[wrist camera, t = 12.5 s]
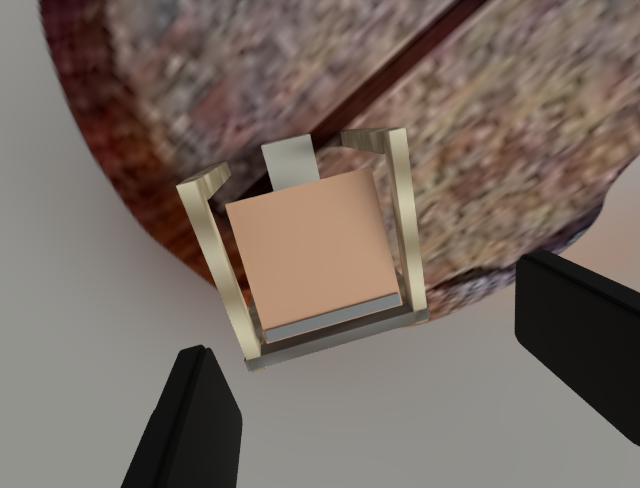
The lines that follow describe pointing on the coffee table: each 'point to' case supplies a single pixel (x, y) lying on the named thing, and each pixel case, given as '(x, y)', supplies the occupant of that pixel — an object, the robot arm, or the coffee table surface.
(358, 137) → the trapdoor frame
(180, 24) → the coffee table surface
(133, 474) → the robot arm
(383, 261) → the trapdoor
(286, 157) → the smooth gray block
